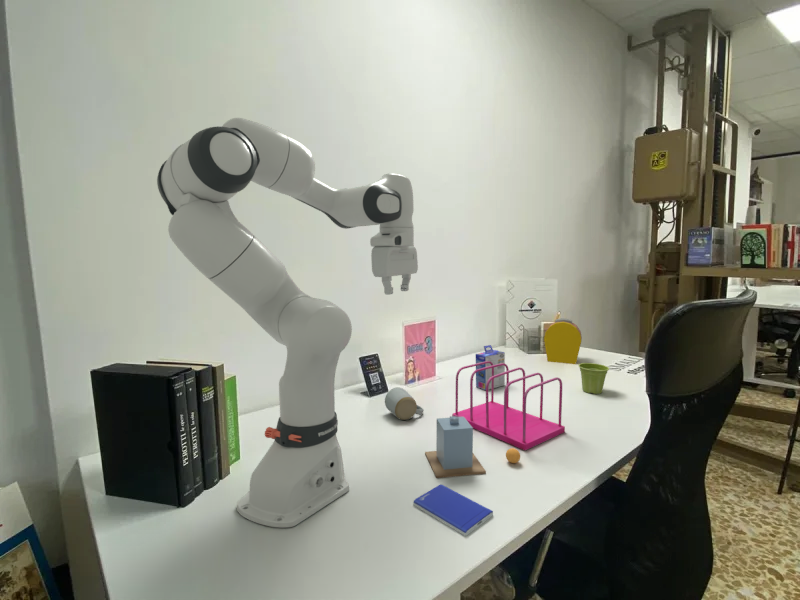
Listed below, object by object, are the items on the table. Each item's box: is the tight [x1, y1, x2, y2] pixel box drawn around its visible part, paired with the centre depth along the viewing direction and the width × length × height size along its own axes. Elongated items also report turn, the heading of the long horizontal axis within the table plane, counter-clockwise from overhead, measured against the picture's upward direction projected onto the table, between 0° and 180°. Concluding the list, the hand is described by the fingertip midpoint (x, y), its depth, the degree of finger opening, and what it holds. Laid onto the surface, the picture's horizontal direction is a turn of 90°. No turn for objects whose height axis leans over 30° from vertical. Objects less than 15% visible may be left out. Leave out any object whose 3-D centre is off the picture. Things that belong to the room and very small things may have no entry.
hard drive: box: [413, 483, 494, 537], centre depth 79 cm, size 2×8×12 cm
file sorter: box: [451, 361, 566, 451], centre depth 116 cm, size 17×25×16 cm
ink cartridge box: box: [475, 344, 506, 391], centre depth 150 cm, size 10×6×14 cm, turn 124°
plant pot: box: [578, 362, 610, 395], centre depth 144 cm, size 9×9×9 cm
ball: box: [505, 447, 521, 464], centre depth 96 cm, size 3×3×3 cm
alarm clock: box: [543, 318, 582, 365], centre depth 184 cm, size 15×8×18 cm, turn 66°
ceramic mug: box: [384, 387, 424, 421], centre depth 124 cm, size 11×8×8 cm
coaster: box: [424, 450, 487, 479], centre depth 96 cm, size 11×11×1 cm
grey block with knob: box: [435, 415, 474, 470], centre depth 95 cm, size 6×6×10 cm
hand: (397, 292), depth 111 cm, fingers open, 8 cm apart
